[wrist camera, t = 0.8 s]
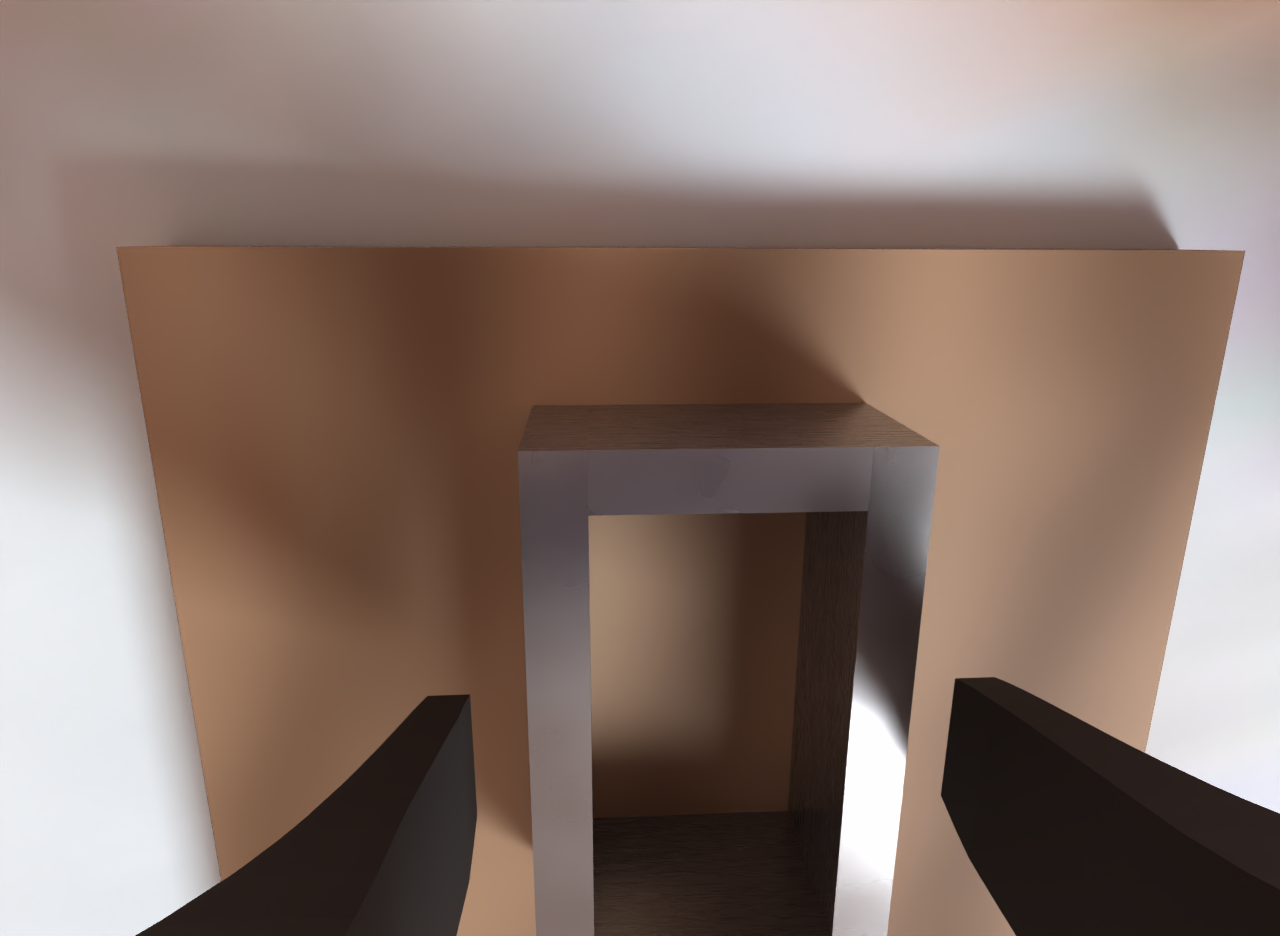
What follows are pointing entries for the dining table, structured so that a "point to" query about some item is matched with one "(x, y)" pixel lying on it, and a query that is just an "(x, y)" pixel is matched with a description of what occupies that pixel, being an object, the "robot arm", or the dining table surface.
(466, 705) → the robot arm
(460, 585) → the keeper board
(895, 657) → the silver rectangular frame
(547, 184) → the dining table surface
